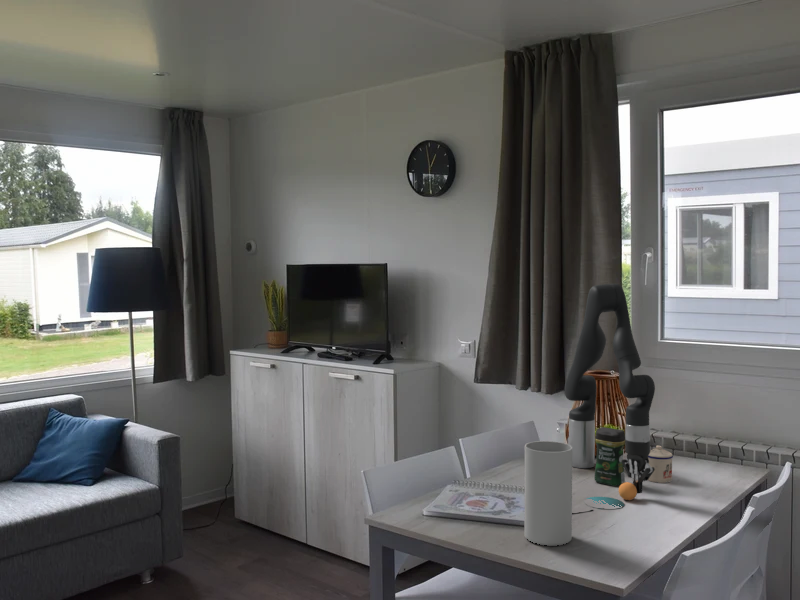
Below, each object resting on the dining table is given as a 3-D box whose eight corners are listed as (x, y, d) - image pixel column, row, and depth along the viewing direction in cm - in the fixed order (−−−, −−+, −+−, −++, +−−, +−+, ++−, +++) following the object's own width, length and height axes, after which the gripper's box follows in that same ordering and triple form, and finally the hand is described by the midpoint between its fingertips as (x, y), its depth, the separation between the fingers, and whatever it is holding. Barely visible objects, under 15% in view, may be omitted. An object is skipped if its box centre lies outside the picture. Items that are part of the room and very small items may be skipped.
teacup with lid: (668, 484, 248) (668, 450, 247) (641, 480, 253) (641, 446, 252) (677, 476, 257) (678, 443, 257) (651, 472, 263) (651, 440, 262)
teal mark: (576, 500, 232) (576, 499, 232) (606, 495, 236) (606, 494, 236) (600, 511, 221) (600, 510, 221) (632, 506, 225) (632, 505, 225)
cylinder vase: (541, 550, 191) (542, 454, 190) (515, 534, 202) (515, 443, 201) (581, 542, 196) (581, 449, 195) (553, 527, 207) (554, 439, 206)
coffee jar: (591, 482, 250) (591, 428, 250) (601, 477, 257) (601, 424, 256) (618, 488, 244) (618, 432, 243) (628, 482, 250) (628, 428, 250)
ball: (626, 497, 235) (613, 496, 233) (629, 480, 235) (616, 479, 233) (638, 503, 230) (625, 501, 228) (642, 486, 231) (629, 484, 228)
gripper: (614, 435, 237) (614, 488, 238) (642, 443, 225) (643, 500, 226) (632, 433, 240) (632, 485, 241) (662, 441, 228) (662, 496, 229)
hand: (637, 492), depth 233 cm, fingers closed
